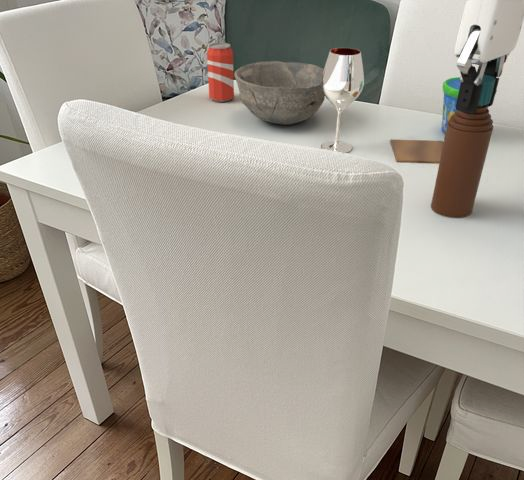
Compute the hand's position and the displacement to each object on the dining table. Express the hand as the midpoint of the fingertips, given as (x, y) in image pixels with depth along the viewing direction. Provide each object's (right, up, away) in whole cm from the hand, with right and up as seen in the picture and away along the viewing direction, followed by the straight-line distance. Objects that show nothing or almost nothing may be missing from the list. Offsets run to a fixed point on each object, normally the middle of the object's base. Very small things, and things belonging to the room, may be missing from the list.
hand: (473, 106), depth 86 cm
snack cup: (+11, +10, +38) cm, 41 cm away
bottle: (0, -13, +11) cm, 17 cm away
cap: (0, +1, 0) cm, 1 cm away
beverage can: (-42, +25, +55) cm, 74 cm away
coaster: (0, +4, +30) cm, 30 cm away
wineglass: (-17, +5, +31) cm, 36 cm away
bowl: (-28, +16, +44) cm, 54 cm away
